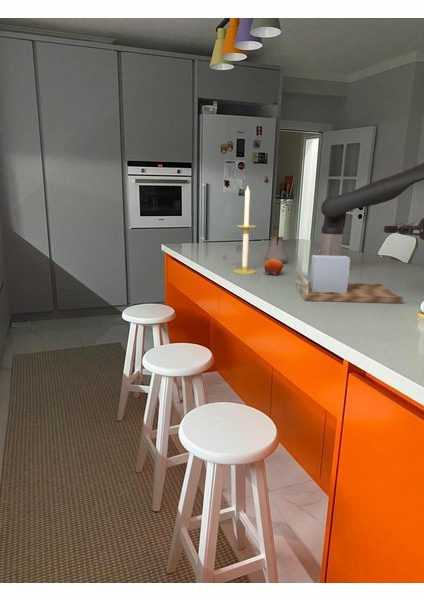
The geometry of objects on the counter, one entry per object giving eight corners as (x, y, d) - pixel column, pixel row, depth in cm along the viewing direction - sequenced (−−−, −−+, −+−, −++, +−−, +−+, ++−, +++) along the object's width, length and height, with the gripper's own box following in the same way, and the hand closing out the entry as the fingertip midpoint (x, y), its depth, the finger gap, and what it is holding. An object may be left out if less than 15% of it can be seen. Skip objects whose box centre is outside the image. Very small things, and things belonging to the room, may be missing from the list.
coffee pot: (264, 260, 219) (266, 231, 216) (286, 261, 218) (288, 232, 214) (263, 267, 199) (265, 235, 195) (288, 268, 197) (290, 236, 194)
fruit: (260, 272, 179) (264, 255, 181) (264, 279, 187) (267, 262, 189) (279, 274, 177) (282, 256, 179) (282, 280, 184) (285, 263, 186)
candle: (228, 271, 188) (231, 184, 178) (243, 268, 195) (246, 184, 185) (245, 275, 181) (249, 184, 172) (260, 272, 188) (264, 185, 178)
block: (312, 291, 148) (315, 257, 144) (309, 288, 152) (312, 255, 149) (346, 292, 147) (350, 258, 144) (343, 289, 152) (346, 255, 149)
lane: (305, 300, 141) (306, 282, 139) (295, 287, 160) (297, 271, 159) (401, 303, 140) (404, 285, 138) (381, 289, 159) (383, 273, 158)
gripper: (429, 215, 148) (379, 216, 149) (447, 220, 136) (392, 220, 137) (426, 236, 151) (377, 237, 152) (444, 243, 138) (390, 243, 139)
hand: (384, 229), depth 144 cm, fingers closed
